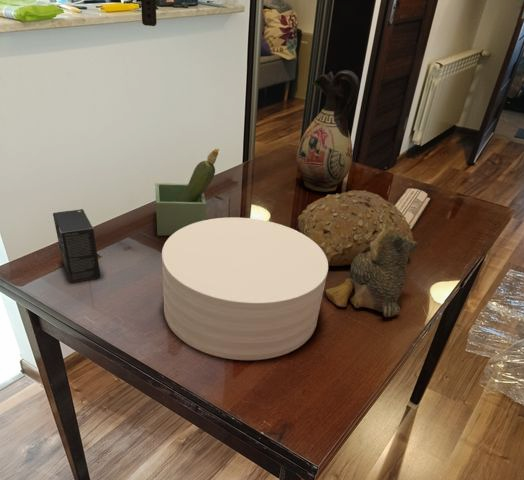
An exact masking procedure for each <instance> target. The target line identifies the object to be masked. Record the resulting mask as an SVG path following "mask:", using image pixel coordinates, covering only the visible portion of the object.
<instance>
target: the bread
mask: <svg viewBox="0 0 524 480" xmlns="http://www.w3.org/2000/svg"><path fill="white" fill-rule="evenodd" d="M395 205H396V204H394V202H389V201H387V200H386V199H384V198H383V197H382V196H381V195H379V194H376V193H374V192H370V191H367V190H363V189H362V190H355V189H352V190H349V191H343V192H342V193H335V194H331V193H329V194H327V195H326V196H325V197H320V198H319V199H316V200H315V201H313V202H312V203H310V204H308V205H307V206H306V208H305V209H304V210H302V211H301V214H299V216H298V218H297V222H298V226H297V227H298V230H299V232H300V233H302V234H304V235H305V236H307V237H308V238H310V239H311V240H312V241H314V242H315V243H316V244H317V245H318V246H319V247H320V248H321V249H322V251H323V252H324V254H325V256H326V258H327V261H328V266H330V267H343V266H351V263H352V261H353V260H354V258H355V257H356V256H358V255H359V254H360V253H362V251H363V250H364V249H365V248H366V247H368V246H370V242H371V241H373V240H375V239H376V238H377V236H378V235H379V233H380V232H381V230H382V229H387V230H394V231H396V232H398V233H400V234H402V235H403V236H404V237H406V238H407V240H412V241H414V237H413V233H412V229H411V228H410V227H411V226H410V224H408V222H407V221H406V218H405V217H404V216H403V214H402V213H401V212H400V211H399V210H398V208H397V207H395Z"/></svg>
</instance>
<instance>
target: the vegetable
mask: <svg viewBox="0 0 524 480" xmlns="http://www.w3.org/2000/svg"><path fill="white" fill-rule="evenodd" d="M219 151H220V149H219V148H214V149H213V150H211V152H209V154H208V155H207V157H206V158H207V159H206V160H202V161H200V162H198V164H197V165H196V166H195V168H194V169H193V172H192V174H191V176H190V179H189V182H188V183H187V184H188V185H187V187H186V189H185V190H184V192H183V193H182V194H181V195H180V196H179V198H178V199H177V200H176V202H196V201H197V200H198V199H199V197H200V196H201V195H202V194H203V193H204V194H205V192H206V191H207V190H208V188H209V187H210V186H211V183H212V181H213V180H214V177H215V174H216V167H215V163H216V161H217V158H218V156H219Z"/></svg>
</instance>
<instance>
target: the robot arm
mask: <svg viewBox="0 0 524 480" xmlns="http://www.w3.org/2000/svg"><path fill="white" fill-rule="evenodd" d="M140 9H141V24H142V25H143V26H148V27H155V26H156V25H157V0H140Z"/></svg>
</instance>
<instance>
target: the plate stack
mask: <svg viewBox="0 0 524 480" xmlns="http://www.w3.org/2000/svg"><path fill="white" fill-rule="evenodd" d="M161 264H162V267H161V268H162V289H163V314H164V318H165V321H166V323H167V325H168V327H169V329H170V330H171V331H172V333H173V334H175V336H176V337H177V338H178V339H180V340H181V341H182V342H184V343H185V344H186V345H188V346H190V347H192V348H194V349H196V350H197V351H200V352H202V353H205V354H208V355H210V356H215V357H219V358H223V359H228V360H236V361H260V360H268V359H273V358H278V357H281V356H284V355H286V354H289V353H291V352H293V351H295V350H297V349H299V348H300V347H301V346H303V345H304V344H306V342H307V341H308V340H309V339H310V338H311V337H312V336H313V334H314V332H315V330H316V327H317V324H318V317H319V313H320V309H321V304H322V300H323V295H324V292H325V291H324V290H325V287H326V280H327V277H328V272H329V265H328V261H327V258H326V256H325V254H324V252H323V251H322V249H321V248H320V247H319V246H318V245H317V244H316V243H315V242H314V241H312V240H311V239H310V238H308V237H307V236H305V235H304V234H302V233H301V232H300V231H298V230H296V229H294V228H292V227H289V226H286V225H284V224H280V223H277V222H273V221H269V220H264V219H258V218H250V217H217V218H216V217H215V218H210V219H206V220H204V221H200V222H196V223H193V224H190V225H188V226H185V227H183V228H181V229H180V230H178V231H176V232H175V233H174V234H172V235H171V236H170V235H169V236H168V238H167V239H166V241H165V242H164V244H163V246H162V249H161Z"/></svg>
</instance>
